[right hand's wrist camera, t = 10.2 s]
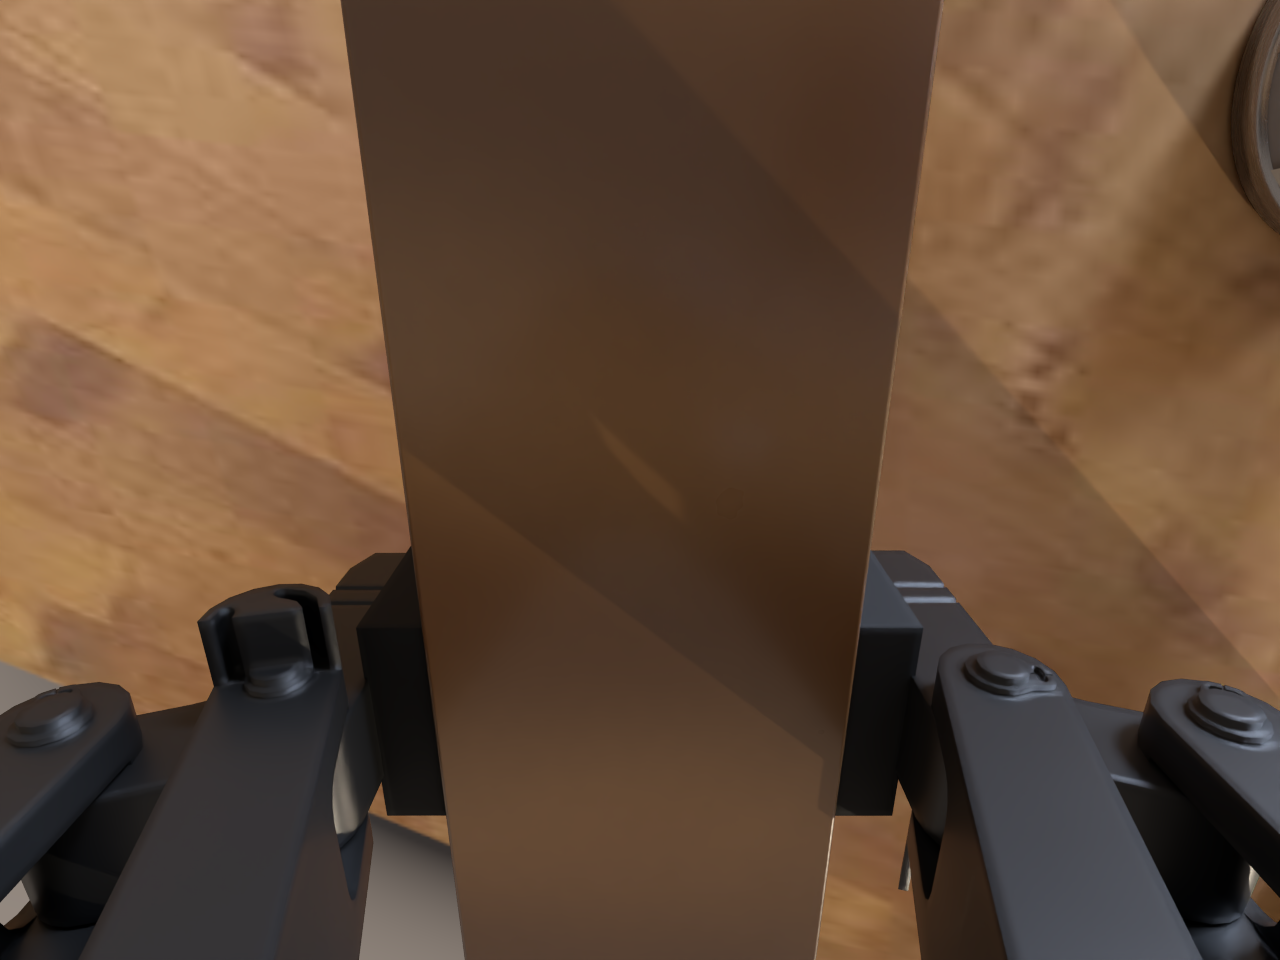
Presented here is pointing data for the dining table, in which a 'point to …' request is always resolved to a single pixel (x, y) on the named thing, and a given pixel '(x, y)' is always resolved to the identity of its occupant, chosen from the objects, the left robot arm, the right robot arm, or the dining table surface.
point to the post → (641, 437)
